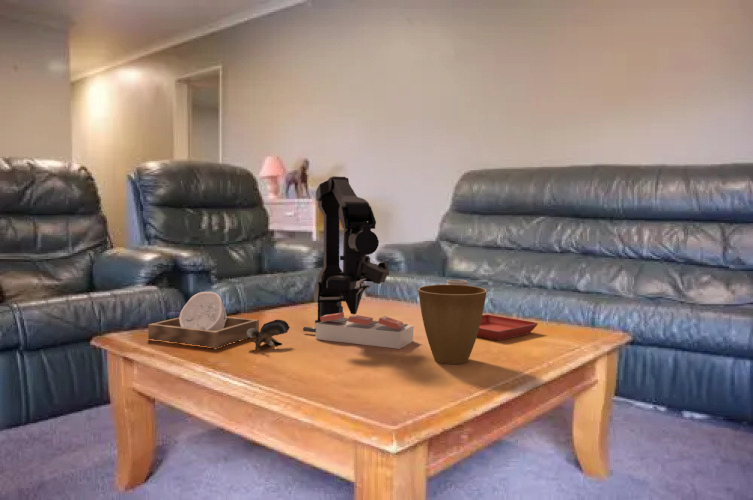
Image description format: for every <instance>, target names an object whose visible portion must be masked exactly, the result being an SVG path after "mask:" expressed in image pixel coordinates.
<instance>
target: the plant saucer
mask: <svg viewBox="0 0 753 500" xmlns="http://www.w3.org/2000/svg"><path fill="white" fill-rule="evenodd" d="M538 325H539V323H538V322H537V321H536V322H535V321H528V320H522V319H517V318H512V317H506V316H505V317H504V316H498V315H494V314H493V315H492V314H482V319H481V323H480V327H479V331H478V334H477V337H479V338H484V339H488V340H492V341H501V339H502V340H506V339H510V337H511V338H515V337H514V336H516V337H519V336H518V335H520V336H524V335H523V334H525V335H528V334H527V333H529V334H530V333H531V332H532V331H533V330H534V329H536V327H537V326H538ZM505 338H506V339H505Z"/></svg>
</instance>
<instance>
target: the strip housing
mask: <svg viewBox="0 0 753 500" xmlns="http://www.w3.org/2000/svg"><path fill="white" fill-rule="evenodd" d="M378 321H379V320H373V323H371V324H368V325H364V324H358V323H353V322H349V317H348V318H346V317H343V318H340V319H337V320H329V321H322V322H319V323H316V322H315V327H310V326H303V328H302V330H303V332H306V333H307V332H308V333H315V340H319V341H320V340H322V341H329V342H336V343H337V342H339V343H348V344H356V345H366V346H372V347H373V346H374V347H382V348H389V349H391V348H392V349H399V350H401V349H403V348H404V347H406V346H408V345H409V344H411V343H413V342H414V325H412V324H408V323H403V324H402V327H401V328H399V329H394V328H391V327H388V326H385V325H382V324H379V323H378Z"/></svg>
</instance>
